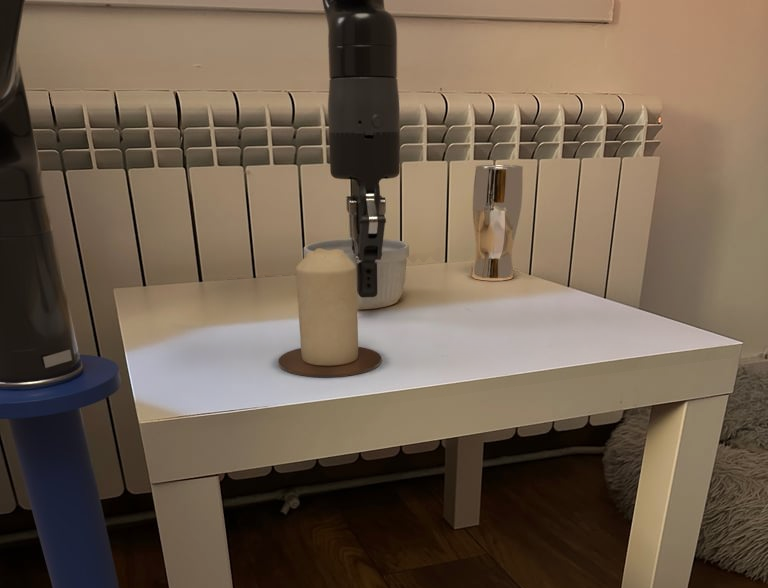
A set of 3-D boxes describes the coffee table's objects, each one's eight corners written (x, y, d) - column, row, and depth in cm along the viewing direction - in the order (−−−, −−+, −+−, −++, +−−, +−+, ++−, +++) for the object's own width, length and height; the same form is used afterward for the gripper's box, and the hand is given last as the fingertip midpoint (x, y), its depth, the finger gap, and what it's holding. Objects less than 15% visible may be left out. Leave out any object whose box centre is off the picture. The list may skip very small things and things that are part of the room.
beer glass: (459, 277, 109) (463, 166, 101) (489, 271, 113) (495, 164, 106) (495, 283, 104) (503, 168, 97) (525, 277, 108) (534, 165, 101)
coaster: (280, 380, 66) (280, 376, 65) (276, 350, 74) (276, 347, 74) (389, 374, 67) (389, 370, 67) (373, 345, 76) (373, 342, 76)
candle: (312, 369, 67) (306, 256, 63) (294, 354, 72) (287, 247, 67) (367, 362, 69) (365, 252, 65) (346, 347, 74) (342, 243, 69)
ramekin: (309, 314, 88) (306, 254, 85) (303, 293, 99) (300, 239, 96) (417, 310, 90) (418, 251, 86) (399, 289, 101) (399, 236, 98)
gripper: (323, 129, 82) (330, 286, 90) (334, 128, 71) (341, 309, 79) (389, 128, 83) (390, 284, 91) (410, 128, 72) (409, 306, 80)
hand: (367, 295), depth 85 cm, fingers closed
